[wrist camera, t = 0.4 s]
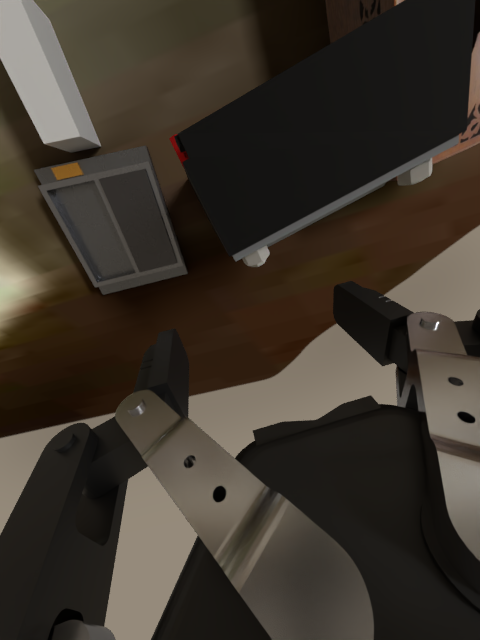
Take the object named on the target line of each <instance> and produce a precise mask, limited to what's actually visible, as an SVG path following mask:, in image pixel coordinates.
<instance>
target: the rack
mask: <svg viewBox="0 0 480 640" xmlns="http://www.w3.org/2000/svg"><path fill="white" fill-rule="evenodd" d="M34 172H35V173H36V175H37V177H38V179H39V181H40V182H41V184H42V185H40V186H38V187H39V189H40V191H41V193H42V195H43V196H44V198H45V200H46V202H47V203H48V205H49V207H50V209H51V210H52V212H53V214H54V216H55V218H56V219H57V221H58V223H59V225H60V226H61V228H62V230H63V232H64V233H65V235H66V237H67V239H68V241H69V242H70V244H71V246H72V248H73V249H74V251H75V253H76V255H77V256H78V258H79V260H80V262H81V264H82V265H83V267H84V269H85V271H86V272H87V274H88V276H89V278H90V279H91V281H92V283H93V285H94V287H99V289H100V290H101V292H102V294H103V295H104V294H108V293H112V292H116V291H120V290H124V289H128V288H132V287H136V286H140V285H144V284H148V283H152V282H156V281H160V280H164V279H168V278H172V277H176V276H180V275H184V274H188V270H187V267H186V264H185V261H184V258H183V255H182V252H181V249H180V246H179V243H178V240H177V237H176V233H175V230H174V227H173V224H172V221H171V218H170V215H169V212H168V209H167V206H166V203H165V200H164V197H163V194H162V191H161V187H160V184H159V181H158V178H157V175H156V172H155V169H154V166H153V163H152V160H151V157H150V154H149V151H148V148H147V146H142V147H137V148H133V149H128V150H123V151H119V152H114V153H110V154H105V155H100V156H96V157H91V158H86V159H82V160H77V161H73V162H68V163H63V164H59V165H54V166H49V167H45V168H40V169H36V170H34Z"/></svg>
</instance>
